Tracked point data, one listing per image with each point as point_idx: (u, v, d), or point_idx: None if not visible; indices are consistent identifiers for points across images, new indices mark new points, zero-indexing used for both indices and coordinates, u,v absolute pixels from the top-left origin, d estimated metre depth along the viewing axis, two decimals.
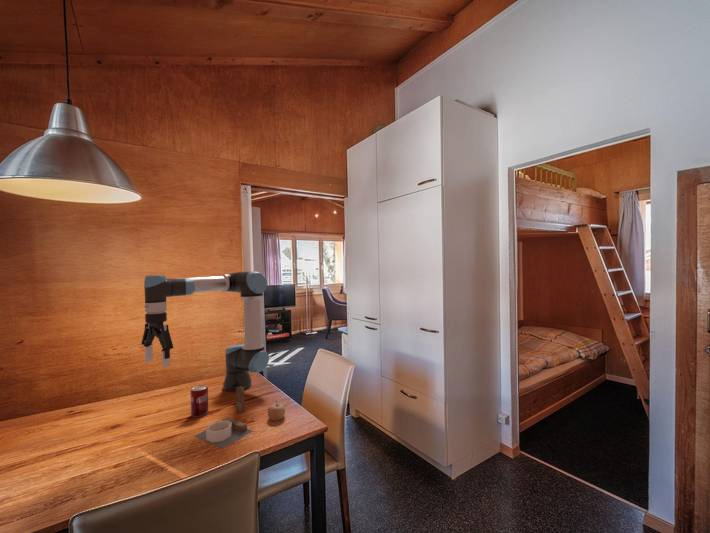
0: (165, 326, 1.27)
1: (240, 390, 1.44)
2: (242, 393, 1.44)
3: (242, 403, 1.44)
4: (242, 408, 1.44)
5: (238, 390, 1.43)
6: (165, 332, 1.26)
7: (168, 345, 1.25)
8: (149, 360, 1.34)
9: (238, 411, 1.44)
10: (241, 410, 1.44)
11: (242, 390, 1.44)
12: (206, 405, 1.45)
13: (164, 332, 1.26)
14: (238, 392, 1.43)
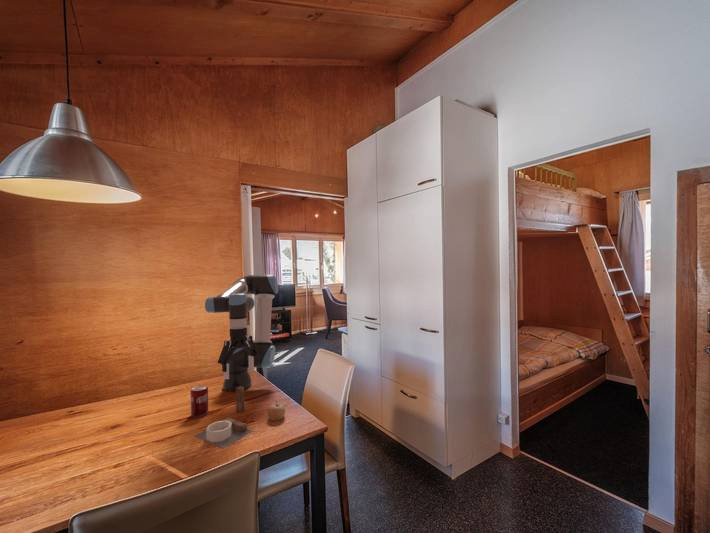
0: (226, 342, 1.39)
1: (240, 390, 1.43)
2: (242, 393, 1.44)
3: (242, 403, 1.44)
4: (242, 408, 1.44)
5: (238, 390, 1.43)
6: (224, 347, 1.39)
7: (219, 360, 1.37)
8: (250, 368, 1.50)
9: (238, 411, 1.44)
10: (241, 410, 1.44)
11: (242, 390, 1.44)
12: (206, 405, 1.45)
13: (224, 347, 1.39)
14: (238, 392, 1.43)
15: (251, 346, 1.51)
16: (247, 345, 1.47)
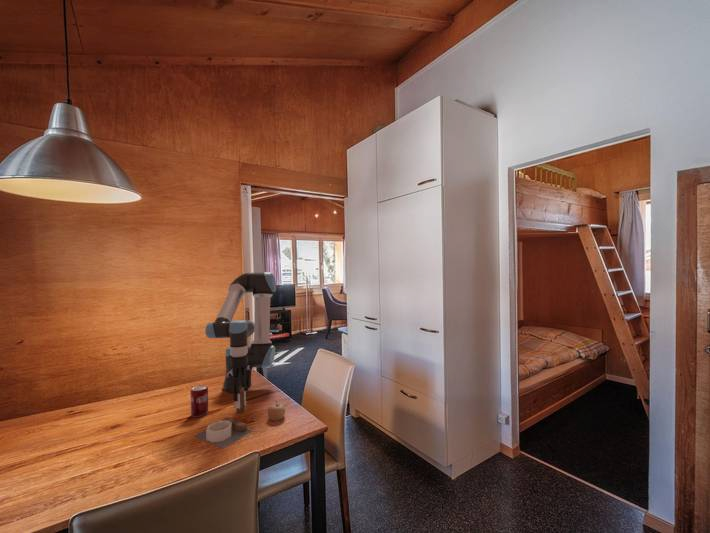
0: (227, 375, 1.39)
1: (240, 390, 1.43)
2: (242, 393, 1.44)
3: (242, 403, 1.44)
4: (242, 408, 1.44)
5: (238, 390, 1.43)
6: (228, 379, 1.40)
7: (230, 391, 1.41)
8: None
9: (238, 411, 1.44)
10: (241, 410, 1.44)
11: (242, 390, 1.44)
12: (206, 405, 1.45)
13: (228, 379, 1.40)
14: (238, 392, 1.43)
15: (247, 377, 1.48)
16: (245, 375, 1.46)
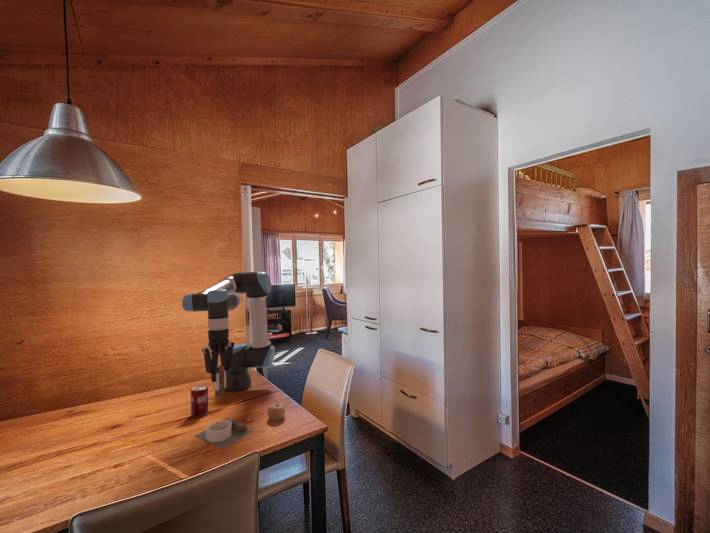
0: (204, 350, 1.20)
1: (219, 369, 1.24)
2: (222, 373, 1.25)
3: (222, 384, 1.25)
4: (221, 390, 1.25)
5: (217, 369, 1.24)
6: (205, 356, 1.21)
7: (207, 369, 1.21)
8: None
9: (217, 393, 1.24)
10: (220, 392, 1.24)
11: (222, 369, 1.25)
12: (206, 405, 1.45)
13: (205, 355, 1.21)
14: (217, 371, 1.24)
15: (228, 355, 1.29)
16: (225, 352, 1.26)
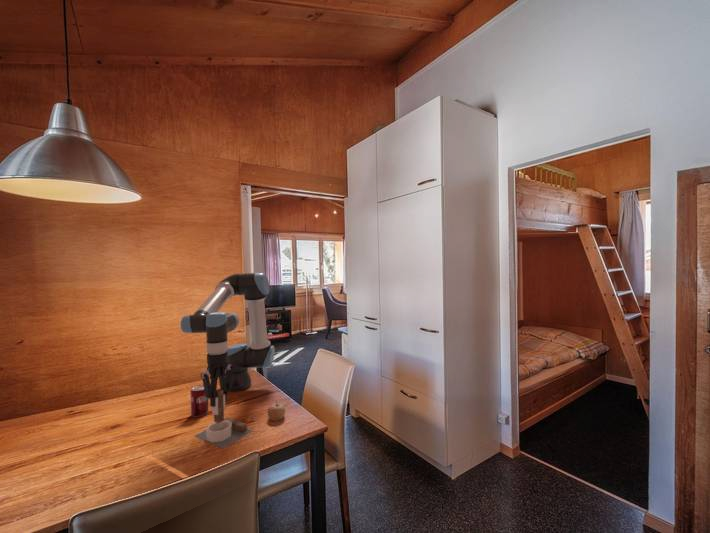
0: (202, 376, 1.19)
1: (218, 393, 1.23)
2: (221, 397, 1.24)
3: (221, 408, 1.24)
4: (220, 414, 1.23)
5: (216, 393, 1.23)
6: (204, 381, 1.19)
7: (206, 394, 1.20)
8: None
9: (216, 418, 1.23)
10: (219, 417, 1.23)
11: (221, 393, 1.24)
12: (206, 405, 1.45)
13: (203, 380, 1.20)
14: (216, 395, 1.23)
15: (227, 379, 1.28)
16: (224, 376, 1.25)
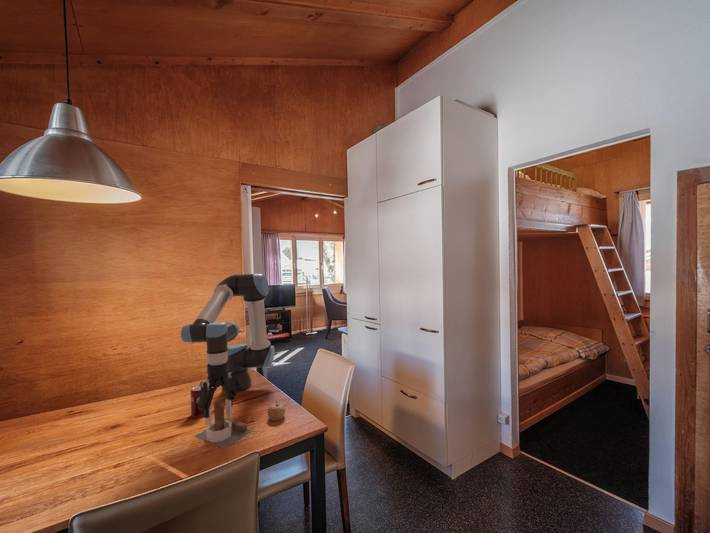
0: (202, 384, 1.18)
1: (219, 406, 1.23)
2: (222, 409, 1.24)
3: (221, 421, 1.24)
4: (221, 427, 1.24)
5: (217, 406, 1.23)
6: (202, 390, 1.19)
7: (200, 405, 1.18)
8: (227, 414, 1.28)
9: (217, 430, 1.23)
10: (220, 429, 1.23)
11: (222, 406, 1.24)
12: None
13: (201, 389, 1.19)
14: (217, 408, 1.23)
15: (230, 386, 1.29)
16: (227, 384, 1.26)
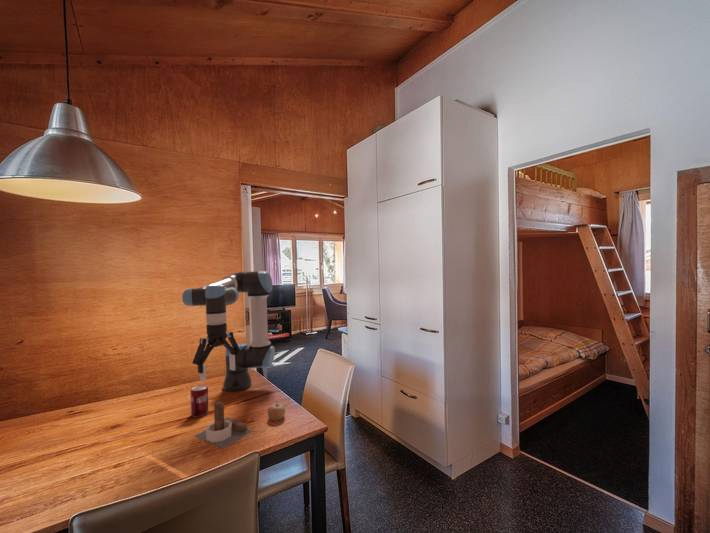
0: (202, 339, 1.23)
1: (219, 406, 1.23)
2: (221, 409, 1.24)
3: (221, 421, 1.24)
4: (221, 427, 1.24)
5: (217, 406, 1.23)
6: (200, 346, 1.23)
7: (194, 360, 1.21)
8: (231, 368, 1.34)
9: None
10: (220, 429, 1.23)
11: (221, 406, 1.24)
12: (206, 405, 1.45)
13: (199, 345, 1.23)
14: (217, 408, 1.23)
15: (232, 343, 1.35)
16: (227, 343, 1.31)
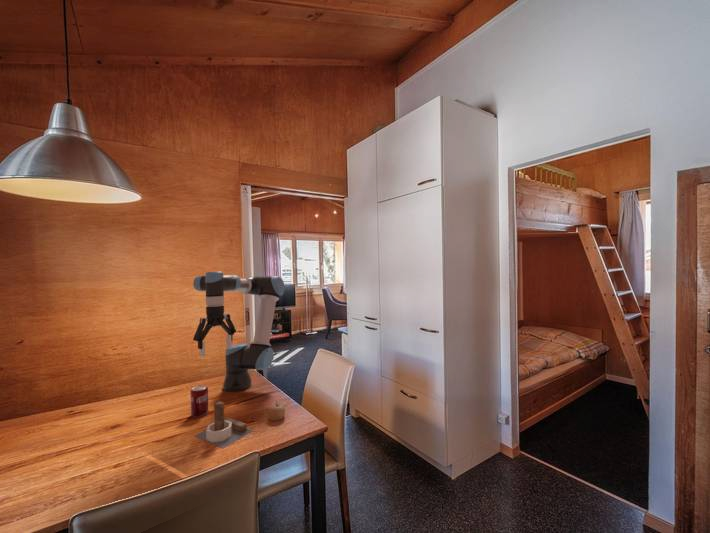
0: (201, 319, 1.38)
1: (219, 406, 1.23)
2: (221, 409, 1.24)
3: (221, 421, 1.24)
4: (221, 427, 1.24)
5: (217, 406, 1.23)
6: (200, 324, 1.38)
7: (195, 337, 1.36)
8: (228, 347, 1.49)
9: None
10: (220, 429, 1.23)
11: (221, 406, 1.24)
12: (206, 405, 1.45)
13: (199, 324, 1.38)
14: (217, 408, 1.23)
15: (229, 325, 1.50)
16: (224, 323, 1.46)
